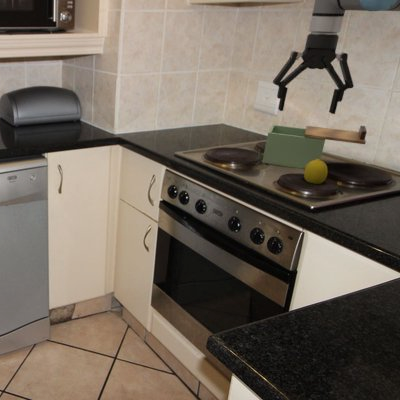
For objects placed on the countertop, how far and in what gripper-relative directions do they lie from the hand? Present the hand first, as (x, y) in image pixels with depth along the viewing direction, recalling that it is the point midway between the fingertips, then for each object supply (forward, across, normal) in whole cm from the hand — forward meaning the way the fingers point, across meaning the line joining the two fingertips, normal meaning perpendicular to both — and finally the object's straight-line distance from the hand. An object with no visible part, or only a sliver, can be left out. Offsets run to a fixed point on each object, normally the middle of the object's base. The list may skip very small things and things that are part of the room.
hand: (305, 111), depth 137 cm
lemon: (+19, -3, +12) cm, 22 cm away
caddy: (+18, -2, -11) cm, 21 cm away
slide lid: (+8, -12, -8) cm, 17 cm away
